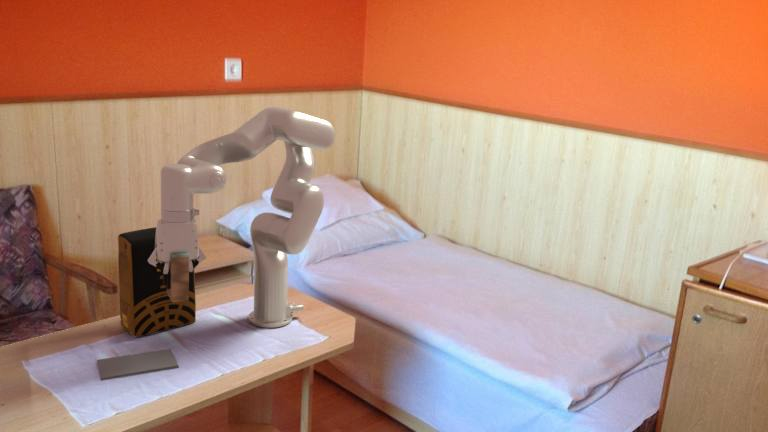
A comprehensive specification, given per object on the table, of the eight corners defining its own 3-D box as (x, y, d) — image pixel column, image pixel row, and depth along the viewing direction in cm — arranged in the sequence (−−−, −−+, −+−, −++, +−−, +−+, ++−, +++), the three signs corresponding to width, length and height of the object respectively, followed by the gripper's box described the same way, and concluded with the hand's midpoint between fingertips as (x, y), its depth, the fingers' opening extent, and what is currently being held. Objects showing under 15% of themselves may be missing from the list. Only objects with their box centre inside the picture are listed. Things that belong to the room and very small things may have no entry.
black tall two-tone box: (199, 323, 205) (198, 228, 198) (132, 340, 193) (128, 239, 185) (183, 310, 213) (180, 219, 205) (117, 326, 201) (112, 229, 193)
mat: (170, 350, 188) (170, 348, 188) (178, 367, 180) (178, 365, 180) (96, 361, 180) (96, 359, 180) (101, 380, 172) (101, 378, 172)
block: (182, 291, 186) (182, 246, 183) (188, 300, 180) (188, 254, 177) (166, 292, 184) (166, 247, 181) (172, 302, 178) (172, 255, 175)
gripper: (207, 210, 183) (207, 278, 188) (138, 213, 176) (139, 284, 180) (215, 217, 177) (214, 288, 182) (144, 221, 169) (145, 295, 174)
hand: (177, 285), depth 181 cm, fingers closed on block, 4 cm apart
